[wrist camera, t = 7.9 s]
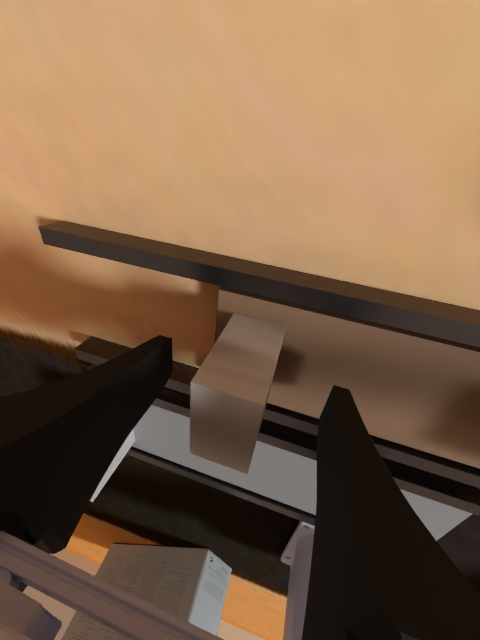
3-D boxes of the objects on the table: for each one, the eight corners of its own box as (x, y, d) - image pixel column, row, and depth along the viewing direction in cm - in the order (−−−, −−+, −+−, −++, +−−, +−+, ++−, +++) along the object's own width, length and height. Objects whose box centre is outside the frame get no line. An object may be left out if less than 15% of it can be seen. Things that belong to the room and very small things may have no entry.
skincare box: (135, 560, 43) (51, 734, 30) (112, 541, 42) (12, 716, 29) (236, 571, 33) (172, 847, 20) (210, 547, 31) (121, 828, 18)
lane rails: (407, 538, 19) (411, 563, 18) (113, 430, 23) (102, 444, 22) (634, 344, 9) (676, 370, 8) (63, 221, 14) (38, 227, 13)
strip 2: (414, 536, 18) (441, 659, 14) (110, 424, 23) (54, 491, 18) (465, 494, 15) (521, 638, 11) (97, 373, 19) (25, 439, 15)
